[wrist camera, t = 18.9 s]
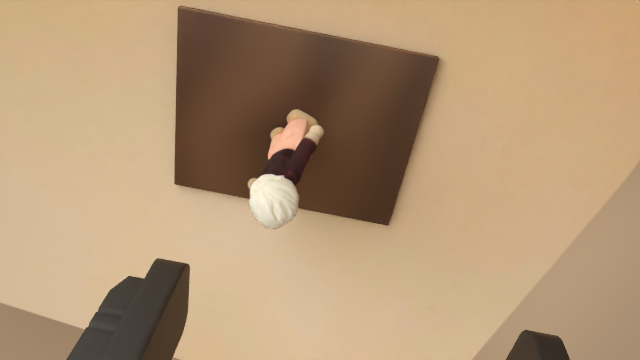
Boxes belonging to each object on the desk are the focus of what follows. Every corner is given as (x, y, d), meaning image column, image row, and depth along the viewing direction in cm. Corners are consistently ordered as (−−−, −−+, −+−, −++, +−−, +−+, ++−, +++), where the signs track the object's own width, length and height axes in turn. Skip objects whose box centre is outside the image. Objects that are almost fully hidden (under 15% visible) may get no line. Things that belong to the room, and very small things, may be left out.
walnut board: (438, 56, 39) (439, 58, 38) (388, 221, 47) (388, 225, 47) (180, 5, 39) (177, 7, 38) (176, 180, 47) (174, 184, 47)
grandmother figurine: (293, 172, 45) (267, 268, 34) (255, 149, 44) (216, 240, 33) (342, 106, 41) (331, 190, 30) (302, 79, 40) (276, 156, 29)
